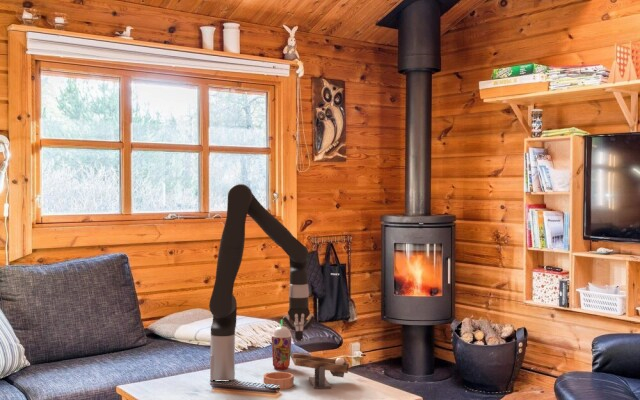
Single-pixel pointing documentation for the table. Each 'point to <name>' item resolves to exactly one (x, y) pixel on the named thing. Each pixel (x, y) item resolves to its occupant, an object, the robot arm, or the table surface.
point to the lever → (320, 363)
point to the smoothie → (281, 347)
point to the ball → (340, 361)
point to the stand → (320, 379)
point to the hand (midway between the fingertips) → (299, 340)
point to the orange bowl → (279, 379)
